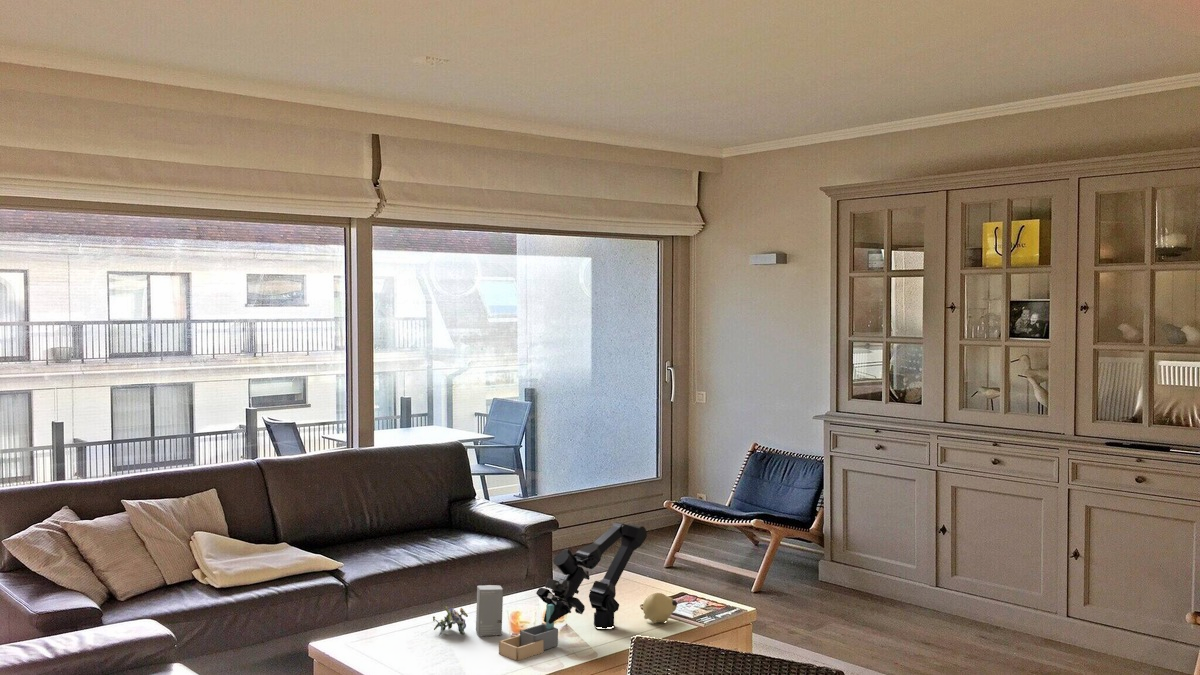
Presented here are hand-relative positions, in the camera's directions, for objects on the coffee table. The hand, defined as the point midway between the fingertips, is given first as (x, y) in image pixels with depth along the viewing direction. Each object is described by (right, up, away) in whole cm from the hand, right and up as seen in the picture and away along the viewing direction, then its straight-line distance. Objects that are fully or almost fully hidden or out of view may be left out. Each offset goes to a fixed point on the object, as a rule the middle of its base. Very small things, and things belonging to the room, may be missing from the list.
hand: (546, 622), depth 319 cm
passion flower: (-33, -7, +10) cm, 35 cm away
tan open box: (-8, -8, -8) cm, 13 cm away
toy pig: (+39, -8, +26) cm, 47 cm away
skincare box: (-20, -7, +12) cm, 25 cm away
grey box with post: (-3, -8, -3) cm, 9 cm away
